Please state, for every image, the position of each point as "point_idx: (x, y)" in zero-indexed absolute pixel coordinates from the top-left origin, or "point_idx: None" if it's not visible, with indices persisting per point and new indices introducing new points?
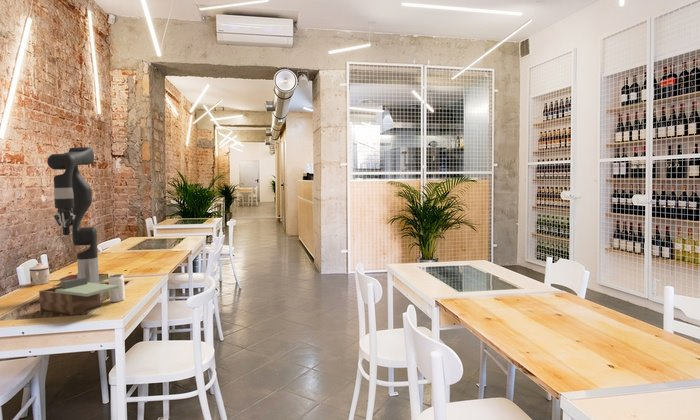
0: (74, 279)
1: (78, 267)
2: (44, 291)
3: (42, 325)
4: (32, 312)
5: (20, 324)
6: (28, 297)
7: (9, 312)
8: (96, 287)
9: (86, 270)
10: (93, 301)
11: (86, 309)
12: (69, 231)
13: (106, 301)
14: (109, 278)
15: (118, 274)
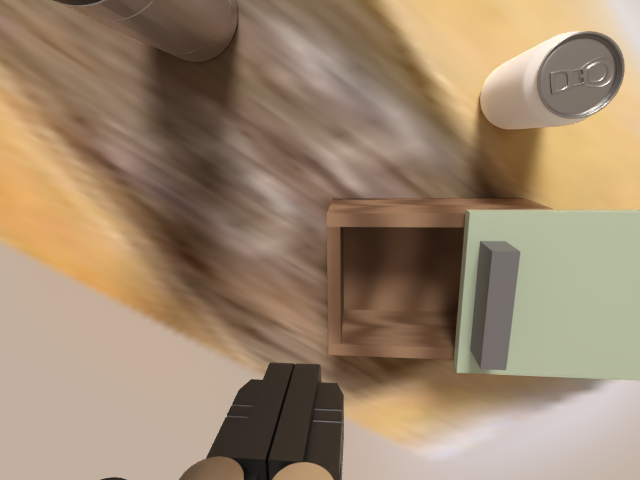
0: (495, 311)
1: (111, 24)
2: (364, 354)
3: (517, 415)
4: (326, 334)
5: (433, 426)
6: (71, 205)
7: (247, 357)
8: (637, 282)
9: (175, 9)
10: None
11: None
12: (341, 415)
13: (471, 127)
14: (553, 119)
15: (565, 40)
